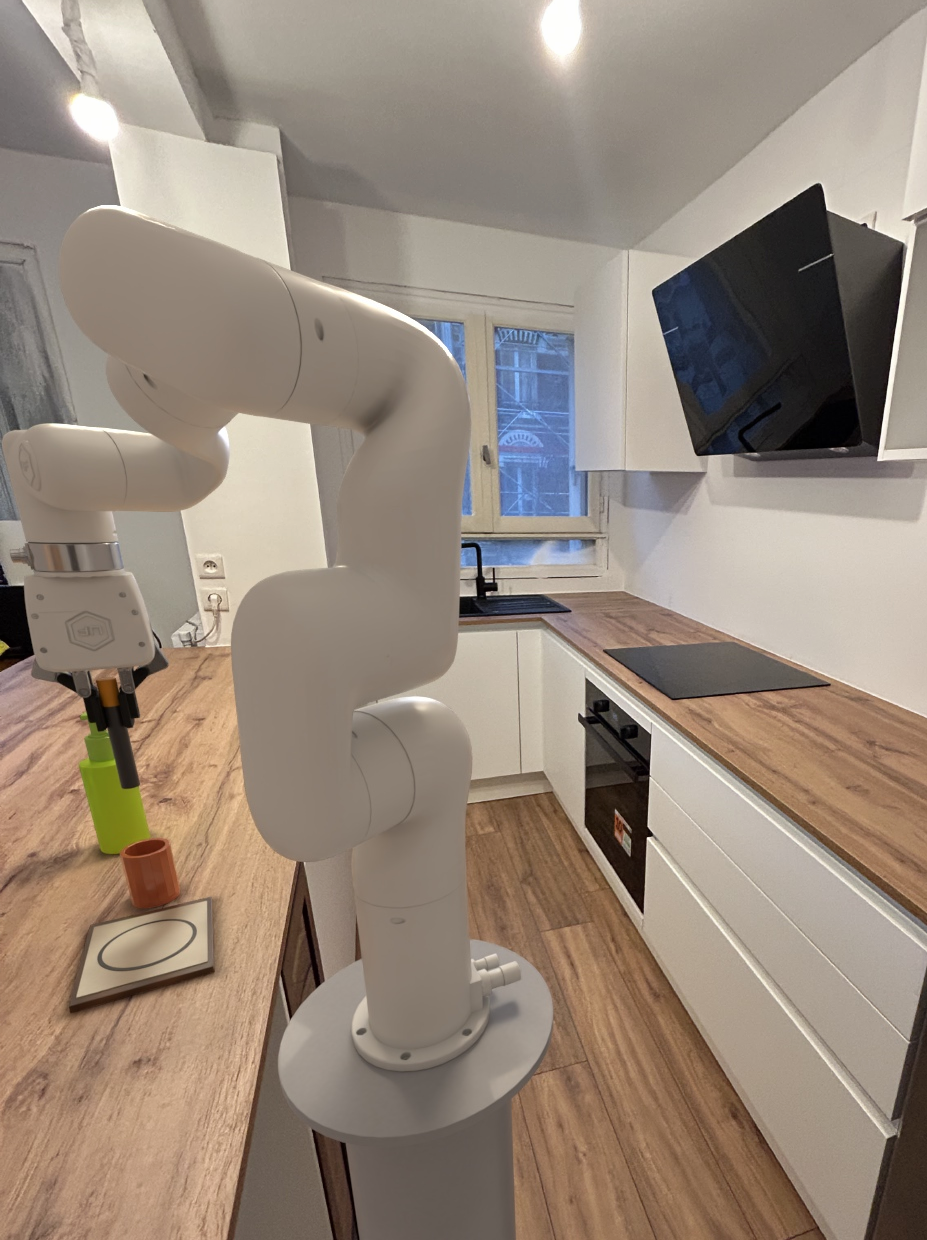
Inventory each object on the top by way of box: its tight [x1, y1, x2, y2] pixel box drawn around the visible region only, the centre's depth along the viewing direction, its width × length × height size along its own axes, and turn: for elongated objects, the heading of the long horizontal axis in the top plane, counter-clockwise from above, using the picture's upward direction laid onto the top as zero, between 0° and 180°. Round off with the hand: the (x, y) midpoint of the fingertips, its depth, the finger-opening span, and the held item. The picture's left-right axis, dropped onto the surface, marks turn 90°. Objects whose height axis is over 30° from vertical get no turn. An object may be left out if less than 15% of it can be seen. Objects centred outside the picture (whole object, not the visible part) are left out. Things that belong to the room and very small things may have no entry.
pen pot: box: [119, 837, 181, 909], centre depth 80 cm, size 5×5×7 cm
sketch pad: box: [68, 896, 216, 1014], centre depth 71 cm, size 12×15×1 cm
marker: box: [95, 676, 141, 789], centre depth 74 cm, size 2×2×13 cm
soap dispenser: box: [78, 711, 152, 855], centre depth 90 cm, size 6×7×20 cm
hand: (116, 725), depth 73 cm, fingers closed on marker, 1 cm apart
